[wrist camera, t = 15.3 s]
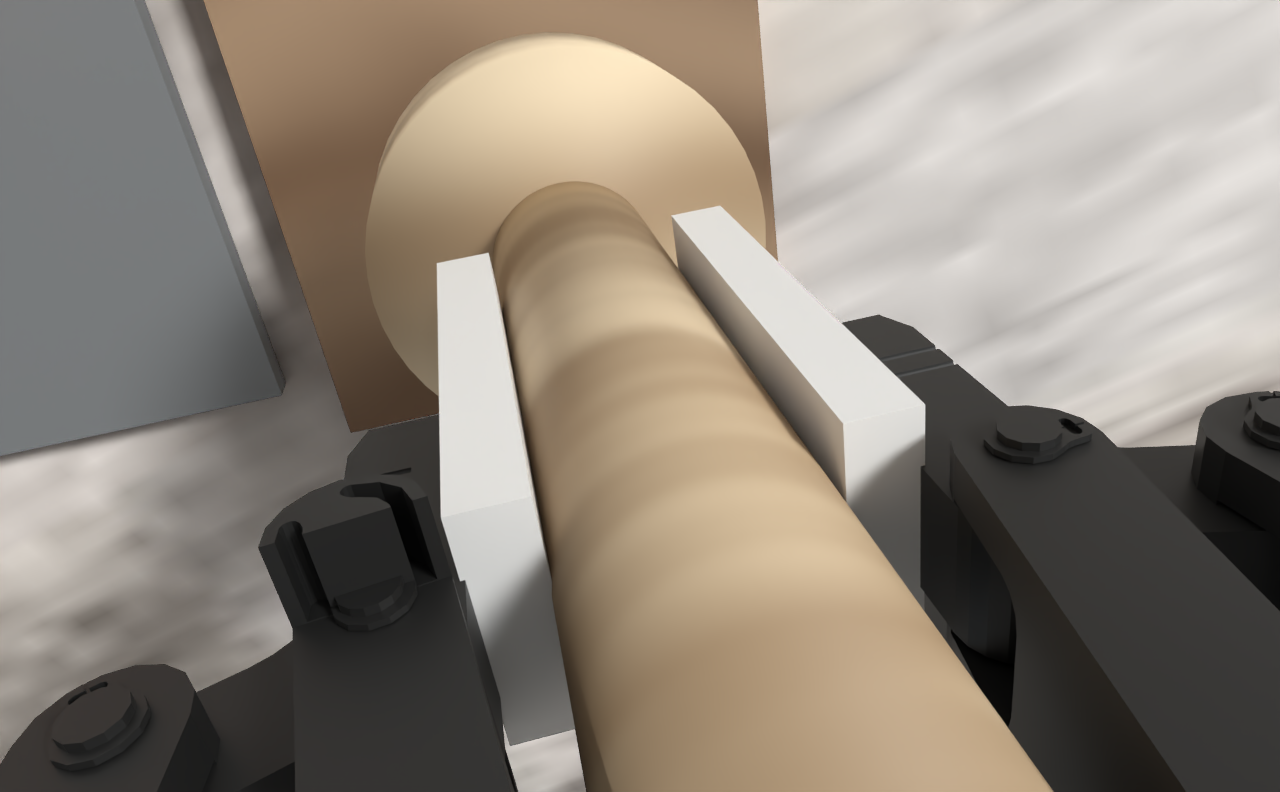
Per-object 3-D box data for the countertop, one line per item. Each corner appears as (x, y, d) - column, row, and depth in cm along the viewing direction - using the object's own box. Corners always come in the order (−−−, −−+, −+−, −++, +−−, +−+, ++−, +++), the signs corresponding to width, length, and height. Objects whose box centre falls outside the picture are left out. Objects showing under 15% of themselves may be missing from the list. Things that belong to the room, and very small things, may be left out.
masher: (742, 342, 20) (1359, 1169, 7) (425, 412, 20) (412, 1500, 6) (707, 1, 17) (1779, 295, 3) (325, 70, 16) (-200, 787, 3)
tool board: (773, 324, 29) (783, 336, 28) (353, 416, 27) (350, 432, 26) (732, -158, 23) (744, -161, 22) (189, -71, 21) (179, -71, 20)
